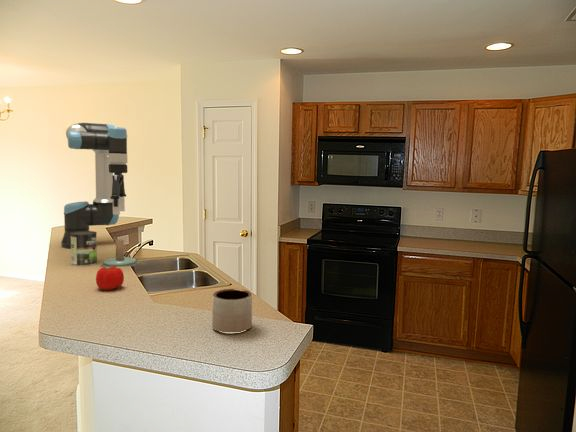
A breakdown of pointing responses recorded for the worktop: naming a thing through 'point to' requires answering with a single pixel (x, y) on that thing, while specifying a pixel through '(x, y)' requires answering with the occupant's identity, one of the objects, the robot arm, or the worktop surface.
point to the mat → (117, 266)
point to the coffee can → (83, 248)
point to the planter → (232, 310)
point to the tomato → (109, 278)
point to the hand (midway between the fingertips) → (119, 212)
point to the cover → (119, 256)
